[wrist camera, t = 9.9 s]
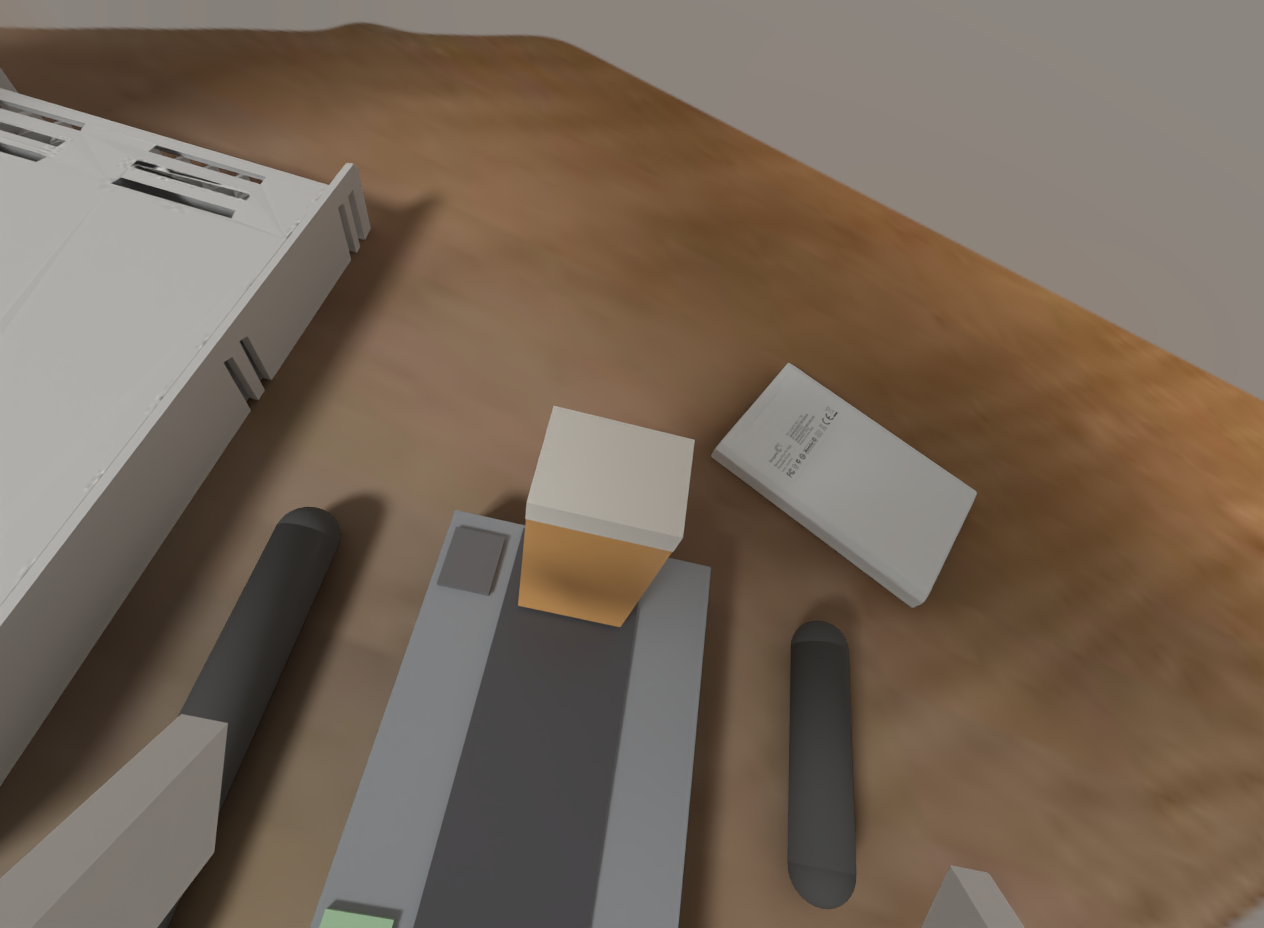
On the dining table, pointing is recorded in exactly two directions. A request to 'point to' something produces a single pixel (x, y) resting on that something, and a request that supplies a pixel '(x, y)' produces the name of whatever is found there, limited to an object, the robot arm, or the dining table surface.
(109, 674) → the dining table surface
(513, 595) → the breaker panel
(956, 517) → the external hard drive
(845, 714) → the dark grey capsule rod
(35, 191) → the power supply unit
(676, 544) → the block
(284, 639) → the dark grey rounded rod
